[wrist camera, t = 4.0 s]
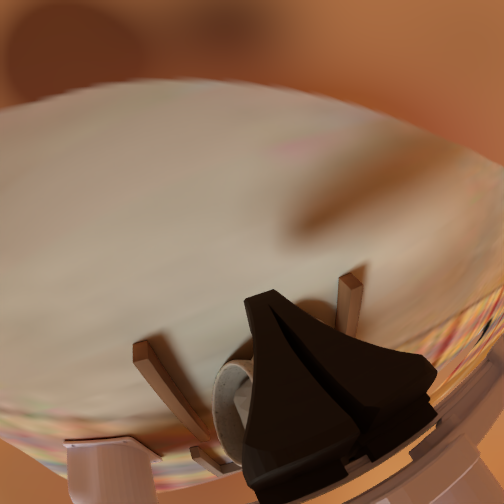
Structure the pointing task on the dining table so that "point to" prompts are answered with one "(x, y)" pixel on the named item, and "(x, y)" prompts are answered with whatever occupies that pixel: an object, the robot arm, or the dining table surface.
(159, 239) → the dining table surface
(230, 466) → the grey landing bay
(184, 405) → the walnut dock
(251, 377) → the speckled coffee cup
